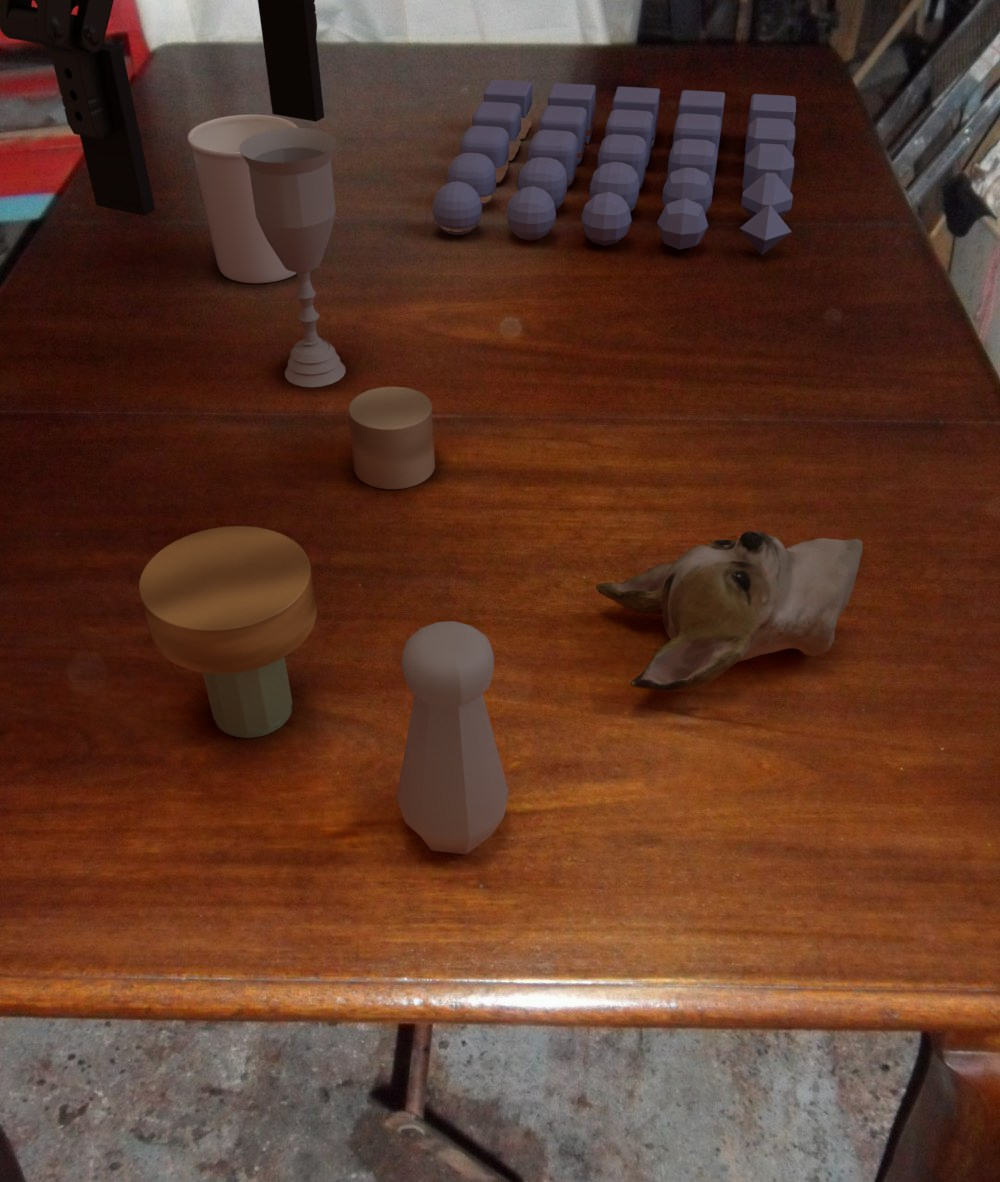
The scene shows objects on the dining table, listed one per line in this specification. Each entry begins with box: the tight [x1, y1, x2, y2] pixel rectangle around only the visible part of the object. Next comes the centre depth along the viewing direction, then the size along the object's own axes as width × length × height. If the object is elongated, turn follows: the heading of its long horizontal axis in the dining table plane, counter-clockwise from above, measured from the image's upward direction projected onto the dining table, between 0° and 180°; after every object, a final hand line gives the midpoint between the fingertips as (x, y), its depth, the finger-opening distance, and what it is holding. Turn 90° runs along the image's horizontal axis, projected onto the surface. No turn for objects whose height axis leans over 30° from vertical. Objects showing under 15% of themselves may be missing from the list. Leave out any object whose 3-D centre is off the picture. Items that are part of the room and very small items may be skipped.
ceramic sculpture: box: [595, 530, 864, 692], centre depth 71 cm, size 11×9×15 cm
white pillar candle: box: [348, 386, 436, 490], centre depth 87 cm, size 6×6×5 cm
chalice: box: [239, 127, 347, 388], centre depth 93 cm, size 7×7×18 cm
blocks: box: [432, 79, 797, 256], centre depth 126 cm, size 35×34×5 cm
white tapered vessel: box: [187, 114, 299, 284], centre depth 109 cm, size 10×10×12 cm
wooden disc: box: [138, 525, 318, 674], centre depth 64 cm, size 9×9×3 cm
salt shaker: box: [395, 620, 510, 855], centre depth 59 cm, size 6×6×13 cm
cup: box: [202, 656, 293, 739], centre depth 67 cm, size 5×5×7 cm
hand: (218, 159), depth 57 cm, fingers open, 13 cm apart
